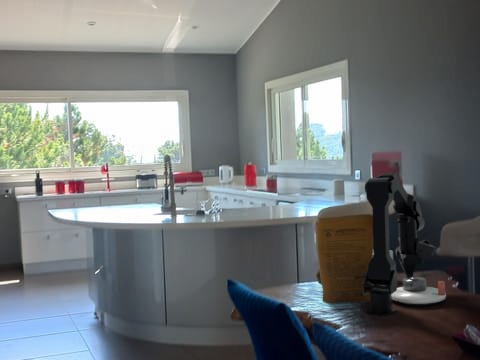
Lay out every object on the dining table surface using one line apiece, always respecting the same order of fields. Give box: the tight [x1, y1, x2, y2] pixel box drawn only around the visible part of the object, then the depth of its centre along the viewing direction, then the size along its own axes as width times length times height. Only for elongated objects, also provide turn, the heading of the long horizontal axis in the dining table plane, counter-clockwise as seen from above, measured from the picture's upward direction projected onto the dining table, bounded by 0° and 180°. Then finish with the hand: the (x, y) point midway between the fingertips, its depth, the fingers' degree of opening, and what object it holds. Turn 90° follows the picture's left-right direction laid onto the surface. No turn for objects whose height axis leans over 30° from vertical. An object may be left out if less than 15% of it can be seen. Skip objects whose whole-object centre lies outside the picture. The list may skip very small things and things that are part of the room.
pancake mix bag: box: [314, 213, 373, 304], centre depth 180 cm, size 7×19×28 cm, turn 84°
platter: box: [391, 280, 447, 304], centre depth 177 cm, size 17×17×5 cm
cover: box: [402, 276, 427, 292], centre depth 181 cm, size 7×7×4 cm
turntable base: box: [399, 302, 438, 307], centre depth 177 cm, size 12×12×1 cm
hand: (409, 280), depth 190 cm, fingers closed
